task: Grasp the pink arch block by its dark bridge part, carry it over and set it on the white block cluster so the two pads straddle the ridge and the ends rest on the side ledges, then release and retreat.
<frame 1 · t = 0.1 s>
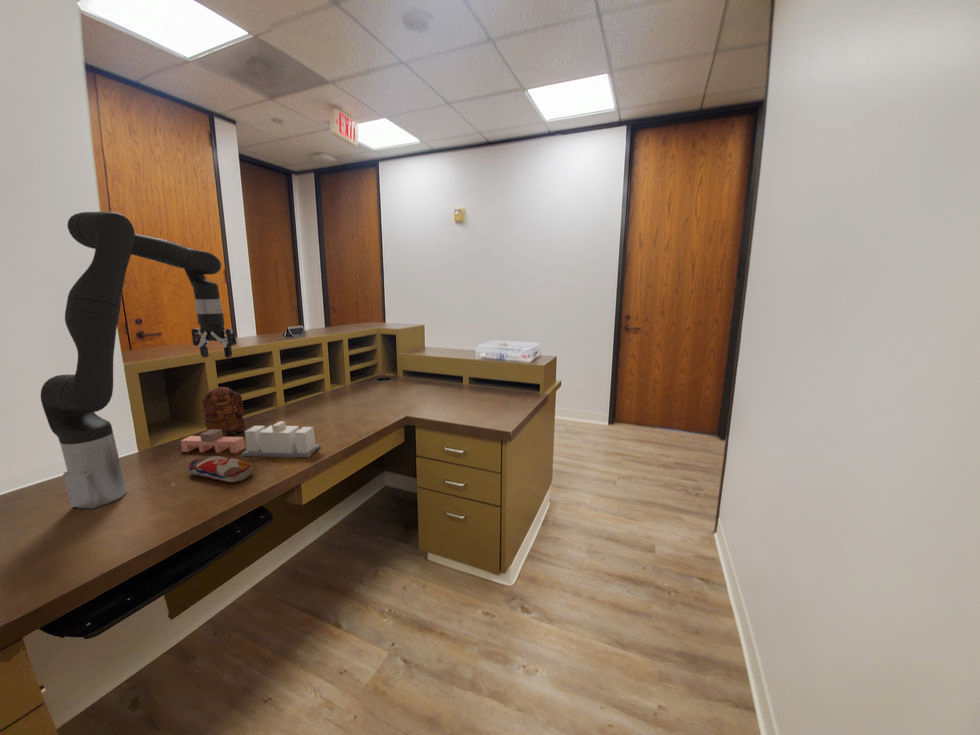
hand: (217, 357, 135), 29 cm above the table, fingers open, 8 cm apart
wooden figurine: (228, 433, 140), on the table
pencil case: (222, 476, 110), on the table
pink arch block: (214, 449, 126), on the table
white block cluster: (282, 451, 125), on the table
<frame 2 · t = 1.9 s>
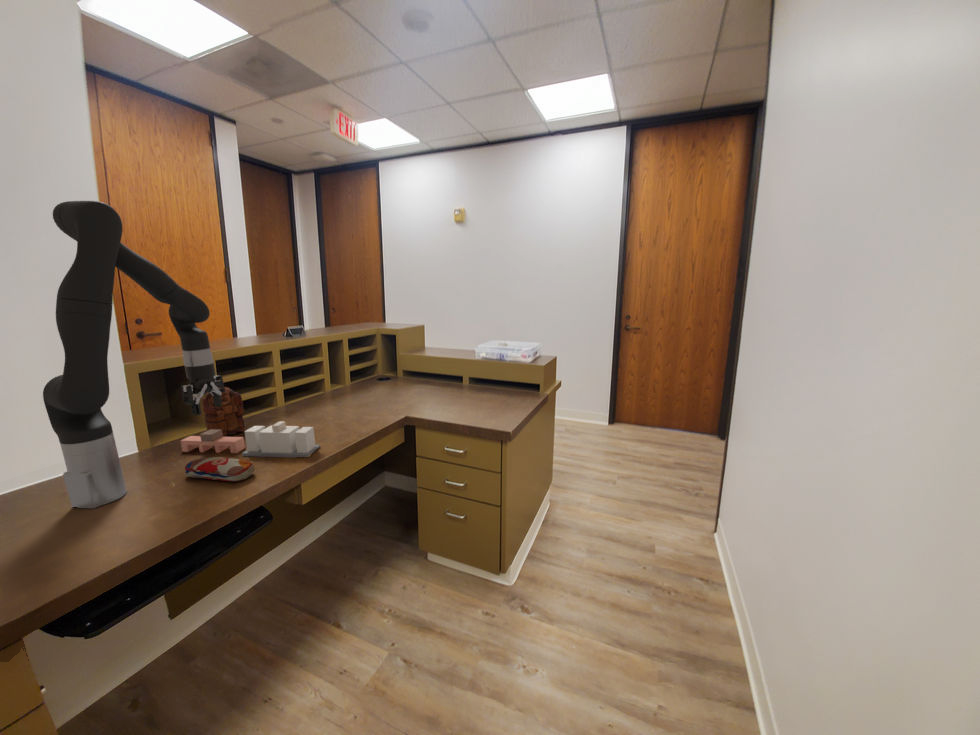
hand: (208, 410, 123), 14 cm above the table, fingers open, 8 cm apart
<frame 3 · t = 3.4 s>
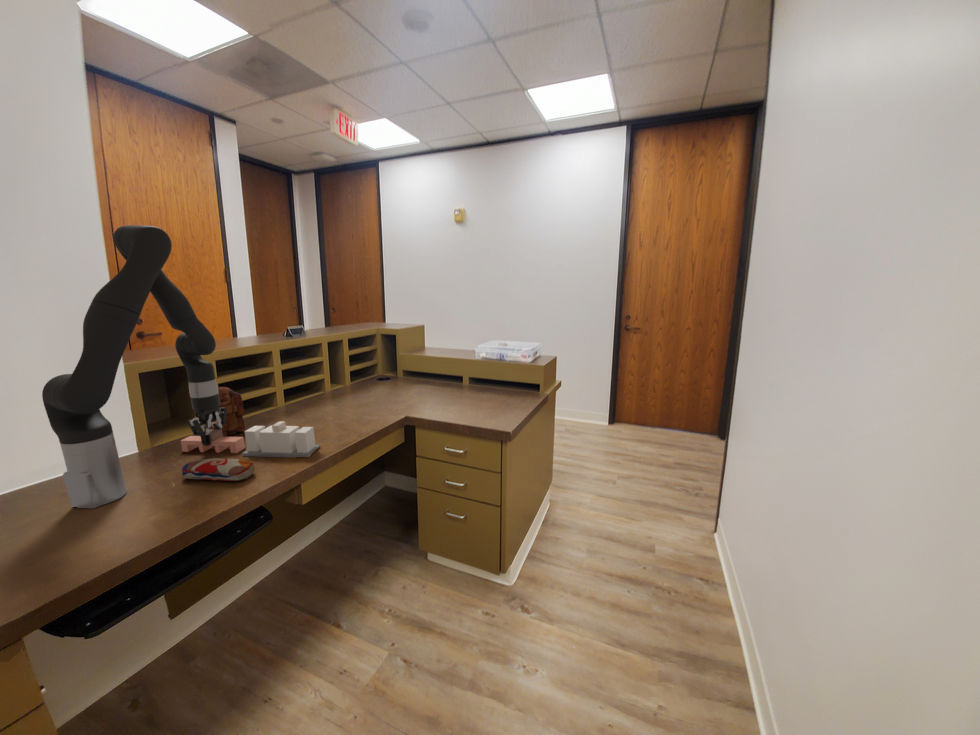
hand: (212, 441, 126), 3 cm above the table, fingers closed on pink arch block, 4 cm apart
pink arch block: (214, 449, 126), on the table, touching gripper
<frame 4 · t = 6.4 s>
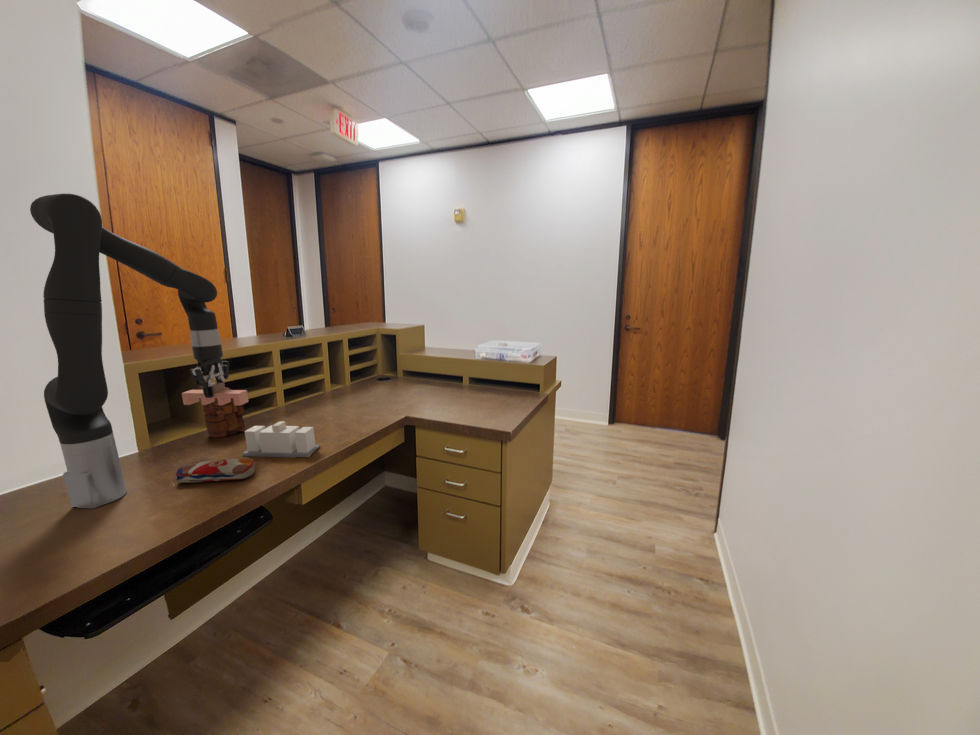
hand: (215, 394, 122), 19 cm above the table, fingers closed on pink arch block, 4 cm apart
pink arch block: (216, 403, 123), point 17 cm above the table, touching gripper
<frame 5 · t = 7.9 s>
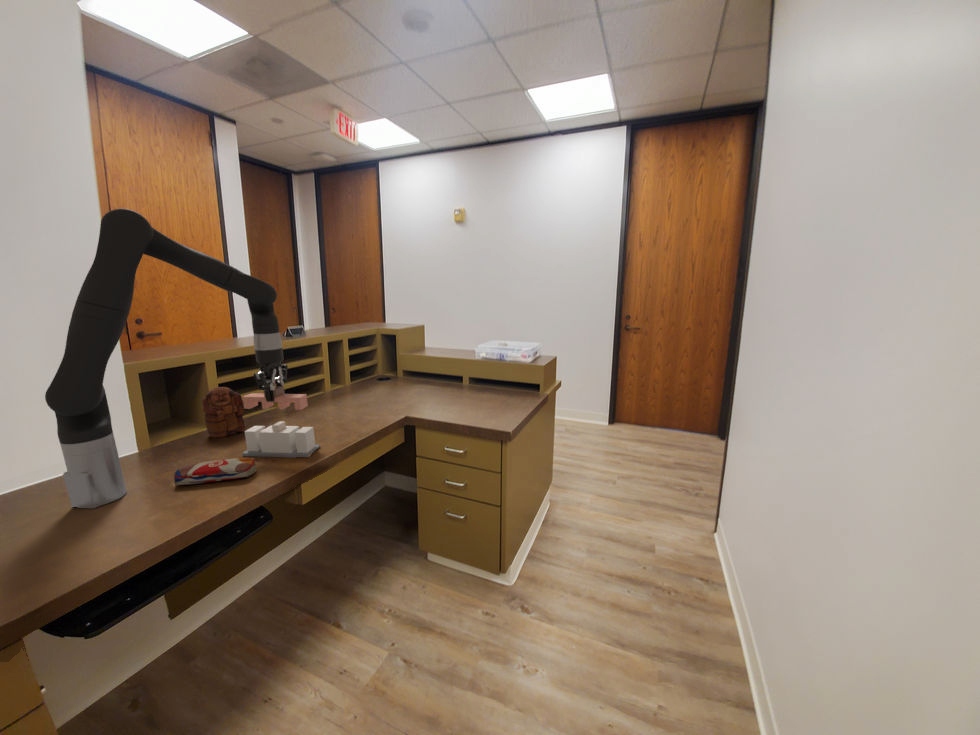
hand: (275, 398, 121), 18 cm above the table, fingers closed on pink arch block, 4 cm apart
pink arch block: (276, 407, 122), point 16 cm above the table, touching gripper
when the fingers open (12 cm above the table, at t = 9.3 s): pink arch block drops 1 cm, resting on white block cluster.
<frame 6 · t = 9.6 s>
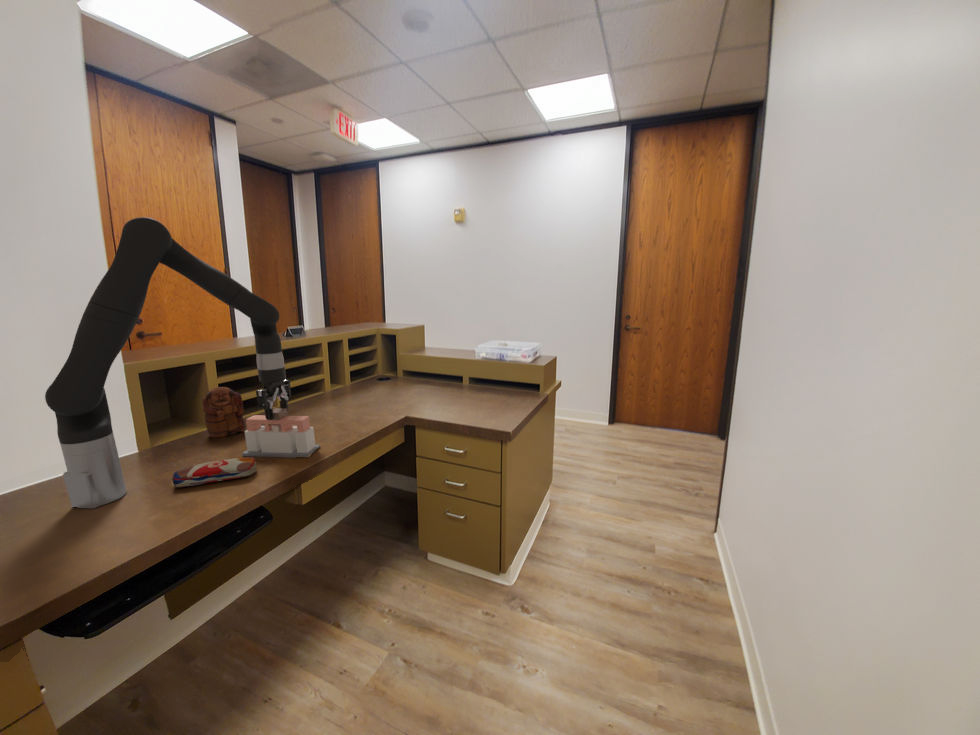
hand: (277, 415, 122), 13 cm above the table, fingers open, 7 cm apart
pink arch block: (279, 429, 123), point 8 cm above the table, touching white block cluster
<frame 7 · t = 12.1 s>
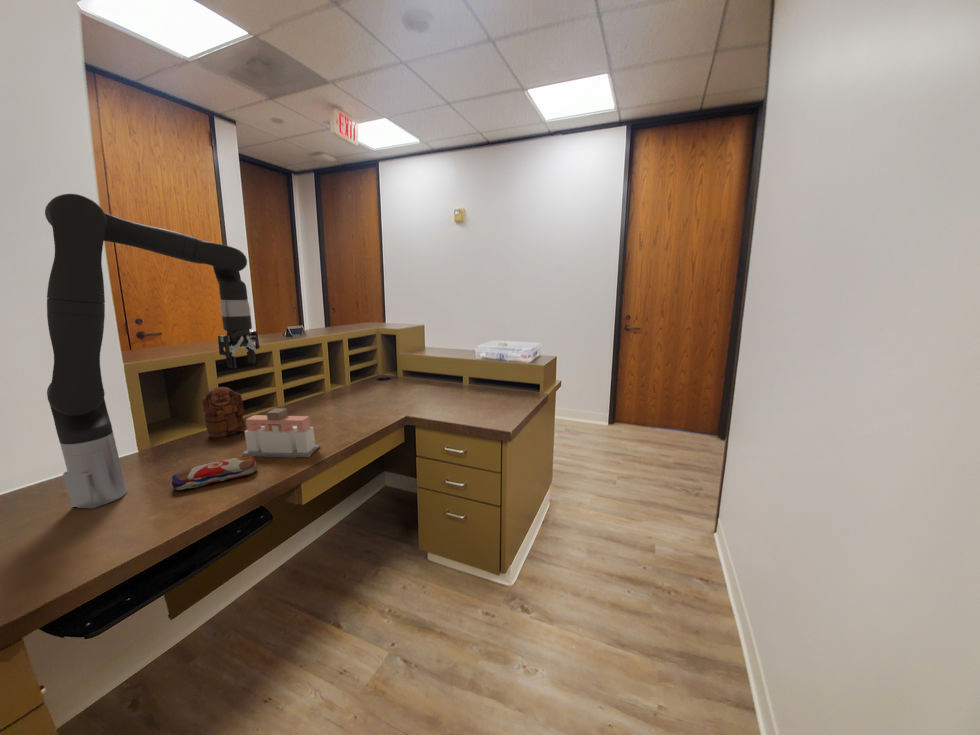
hand: (242, 365, 120), 29 cm above the table, fingers open, 8 cm apart
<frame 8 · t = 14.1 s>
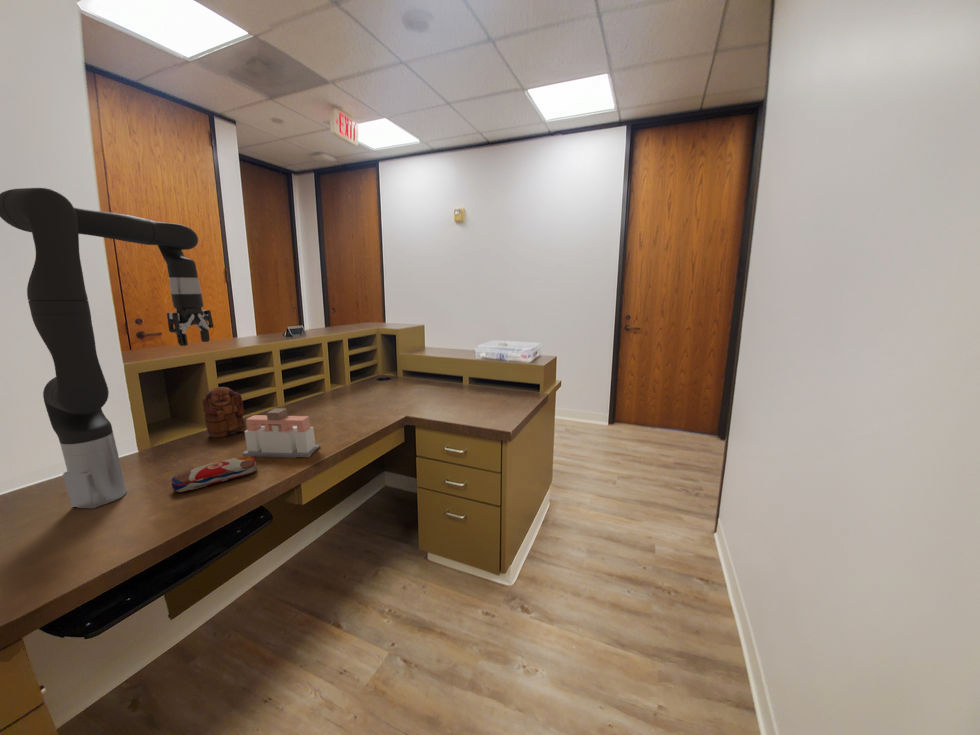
hand: (195, 343, 121), 36 cm above the table, fingers open, 8 cm apart
at the end: pink arch block 0.1 cm off-centre on the white block cluster, point 8.0 cm above the white block cluster's base; pink arch block tilted 0°; the gripper is holding nothing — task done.
